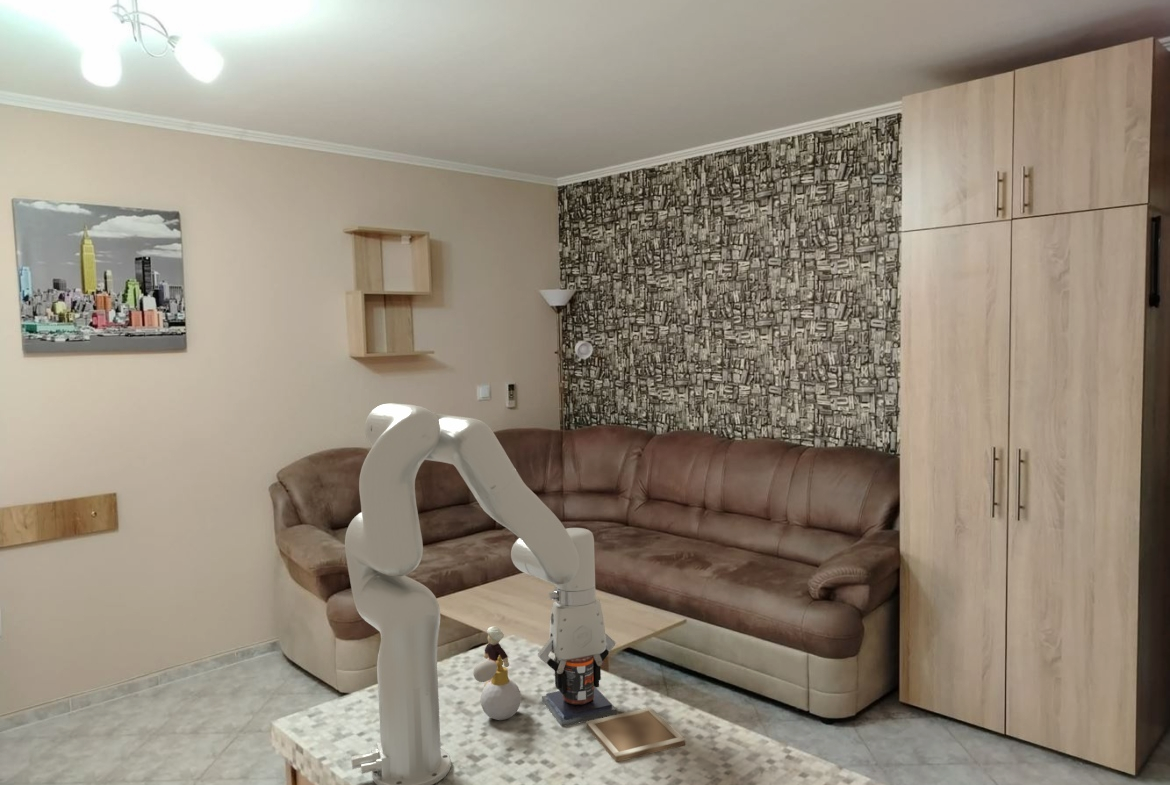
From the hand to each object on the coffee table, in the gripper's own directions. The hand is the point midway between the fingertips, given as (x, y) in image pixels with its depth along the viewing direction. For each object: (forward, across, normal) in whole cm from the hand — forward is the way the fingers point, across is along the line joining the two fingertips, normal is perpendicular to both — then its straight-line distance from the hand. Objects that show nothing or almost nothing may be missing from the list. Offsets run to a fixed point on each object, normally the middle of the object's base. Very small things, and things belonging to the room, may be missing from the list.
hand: (578, 686), depth 149 cm
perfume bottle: (+4, -15, +2) cm, 16 cm away
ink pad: (+4, 0, 0) cm, 4 cm away
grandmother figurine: (+4, -12, +15) cm, 20 cm away
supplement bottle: (+3, 0, 0) cm, 3 cm away
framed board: (+4, +5, -14) cm, 15 cm away
